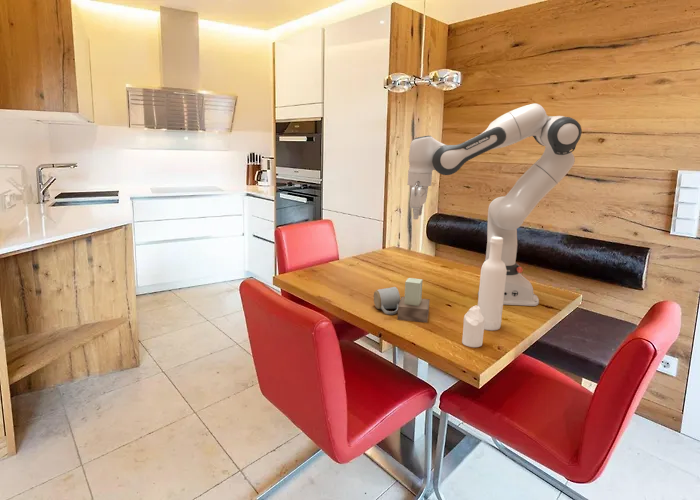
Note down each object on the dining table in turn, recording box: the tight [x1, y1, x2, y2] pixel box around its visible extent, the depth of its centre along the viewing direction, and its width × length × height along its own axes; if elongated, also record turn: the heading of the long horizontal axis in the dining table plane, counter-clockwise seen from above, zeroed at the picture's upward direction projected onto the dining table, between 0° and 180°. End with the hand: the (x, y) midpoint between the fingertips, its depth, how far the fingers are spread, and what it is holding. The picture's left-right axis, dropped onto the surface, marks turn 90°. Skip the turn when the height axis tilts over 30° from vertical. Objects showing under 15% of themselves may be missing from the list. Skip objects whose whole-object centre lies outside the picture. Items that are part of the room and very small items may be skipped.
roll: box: [461, 304, 485, 348], centre depth 127 cm, size 6×12×6 cm
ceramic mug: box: [373, 286, 401, 316], centre depth 153 cm, size 11×8×8 cm
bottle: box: [477, 237, 507, 331], centre depth 138 cm, size 8×8×30 cm
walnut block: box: [396, 296, 430, 323], centre depth 149 cm, size 10×10×5 cm
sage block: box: [404, 277, 424, 306], centre depth 147 cm, size 5×5×8 cm
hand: (417, 217), depth 163 cm, fingers open, 8 cm apart
